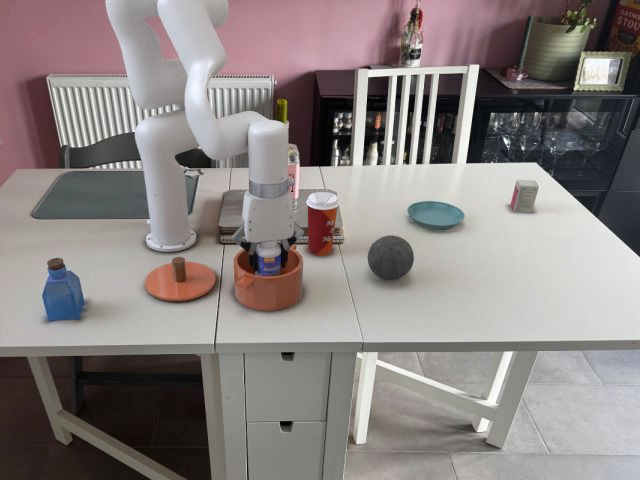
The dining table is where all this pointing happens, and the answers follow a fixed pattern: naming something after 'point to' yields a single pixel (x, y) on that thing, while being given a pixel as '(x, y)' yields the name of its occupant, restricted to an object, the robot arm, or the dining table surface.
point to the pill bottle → (268, 258)
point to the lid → (180, 280)
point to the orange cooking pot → (268, 283)
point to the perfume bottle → (62, 293)
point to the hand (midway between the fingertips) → (268, 265)
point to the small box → (524, 195)
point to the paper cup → (321, 222)
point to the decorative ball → (390, 257)
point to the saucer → (435, 215)
